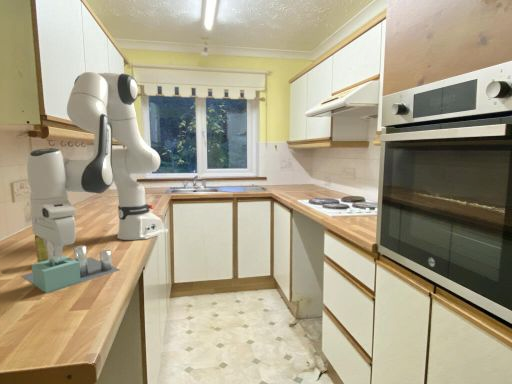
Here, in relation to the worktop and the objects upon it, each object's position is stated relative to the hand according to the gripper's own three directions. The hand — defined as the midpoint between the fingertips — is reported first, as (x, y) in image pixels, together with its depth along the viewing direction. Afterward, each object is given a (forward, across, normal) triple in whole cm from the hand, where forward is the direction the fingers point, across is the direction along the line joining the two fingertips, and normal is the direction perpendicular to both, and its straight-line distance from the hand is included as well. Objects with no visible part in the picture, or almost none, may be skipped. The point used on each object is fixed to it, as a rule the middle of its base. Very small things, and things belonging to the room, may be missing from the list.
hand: (54, 255), depth 92 cm
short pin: (+8, +1, +14) cm, 16 cm away
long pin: (+7, 0, 0) cm, 7 cm away
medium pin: (+8, 0, +7) cm, 11 cm away
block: (+8, 0, 0) cm, 8 cm away
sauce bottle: (+9, -20, +5) cm, 23 cm away
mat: (+9, -5, +6) cm, 12 cm away
